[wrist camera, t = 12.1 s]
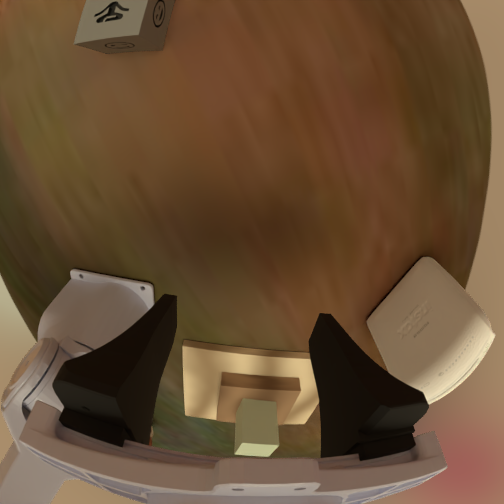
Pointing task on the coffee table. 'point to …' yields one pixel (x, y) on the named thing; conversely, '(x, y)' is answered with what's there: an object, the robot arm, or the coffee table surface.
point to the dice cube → (124, 25)
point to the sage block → (256, 428)
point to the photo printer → (430, 330)
